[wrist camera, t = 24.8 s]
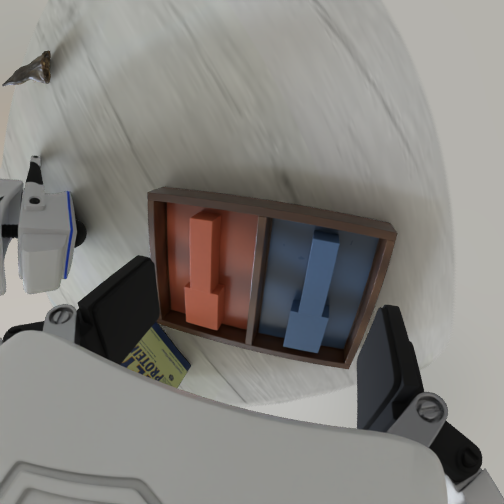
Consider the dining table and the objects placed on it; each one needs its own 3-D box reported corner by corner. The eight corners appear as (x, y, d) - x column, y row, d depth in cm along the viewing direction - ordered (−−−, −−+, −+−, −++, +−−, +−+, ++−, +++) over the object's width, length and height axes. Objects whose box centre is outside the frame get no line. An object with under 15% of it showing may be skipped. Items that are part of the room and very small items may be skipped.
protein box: (193, 365, 39) (144, 444, 25) (137, 376, 45) (93, 433, 32) (151, 312, 37) (83, 384, 23) (102, 333, 43) (49, 387, 29)
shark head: (32, 99, 29) (1, 102, 23) (32, 69, 27) (2, 69, 21) (57, 79, 27) (22, 78, 21) (57, 46, 24) (25, 43, 18)
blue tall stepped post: (306, 228, 26) (304, 236, 24) (346, 236, 25) (348, 245, 23) (286, 334, 31) (282, 347, 29) (319, 340, 31) (317, 354, 28)
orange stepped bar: (193, 210, 28) (182, 216, 26) (229, 215, 27) (220, 222, 25) (193, 312, 34) (185, 323, 31) (223, 320, 33) (216, 331, 31)
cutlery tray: (163, 186, 29) (147, 192, 26) (390, 222, 24) (397, 233, 22) (168, 310, 36) (156, 323, 33) (348, 351, 31) (348, 369, 28)
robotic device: (85, 161, 39) (-16, 151, 24) (101, 244, 28) (-53, 239, 14) (73, 210, 44) (-19, 205, 29) (89, 300, 33) (-38, 303, 18)
